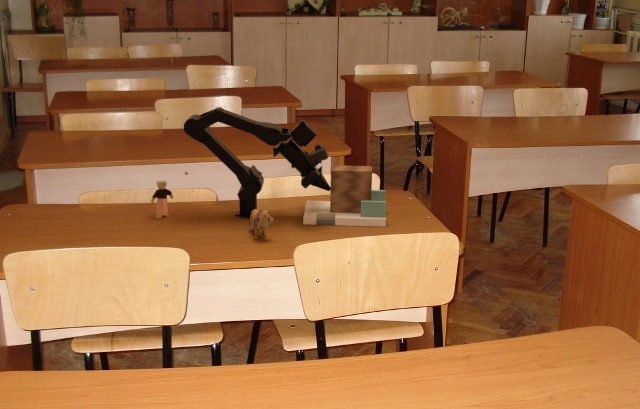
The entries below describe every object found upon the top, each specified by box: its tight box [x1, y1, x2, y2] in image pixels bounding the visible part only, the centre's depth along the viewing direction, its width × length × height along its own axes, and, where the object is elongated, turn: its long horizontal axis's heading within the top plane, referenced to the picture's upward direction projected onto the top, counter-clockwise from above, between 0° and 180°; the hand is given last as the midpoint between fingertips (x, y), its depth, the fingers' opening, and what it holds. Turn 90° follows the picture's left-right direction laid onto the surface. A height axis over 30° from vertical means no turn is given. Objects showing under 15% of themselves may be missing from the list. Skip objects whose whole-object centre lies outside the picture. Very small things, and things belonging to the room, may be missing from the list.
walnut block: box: [329, 164, 373, 213], centre depth 252 cm, size 13×6×14 cm, turn 87°
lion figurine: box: [248, 208, 275, 239], centre depth 239 cm, size 15×5×9 cm, turn 26°
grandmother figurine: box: [150, 178, 174, 219], centre depth 252 cm, size 8×4×13 cm, turn 137°
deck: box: [302, 189, 388, 228], centre depth 254 cm, size 26×16×8 cm, turn 87°
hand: (330, 189), depth 252 cm, fingers closed, pressing on walnut block
